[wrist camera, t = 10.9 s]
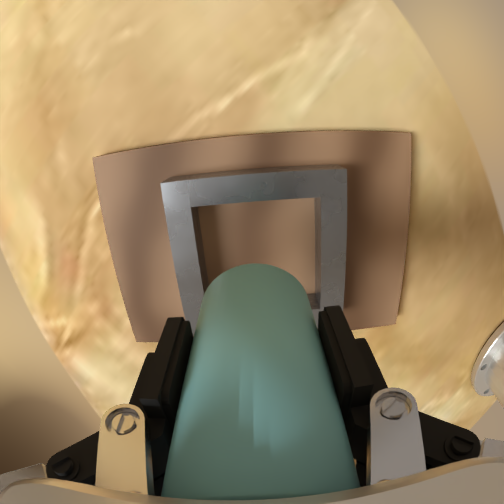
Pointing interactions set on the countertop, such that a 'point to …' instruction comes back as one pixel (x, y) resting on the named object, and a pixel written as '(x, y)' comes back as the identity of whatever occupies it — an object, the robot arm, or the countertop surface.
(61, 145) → the countertop surface
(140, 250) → the collar board
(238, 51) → the countertop surface
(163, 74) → the countertop surface
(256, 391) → the teal peg
